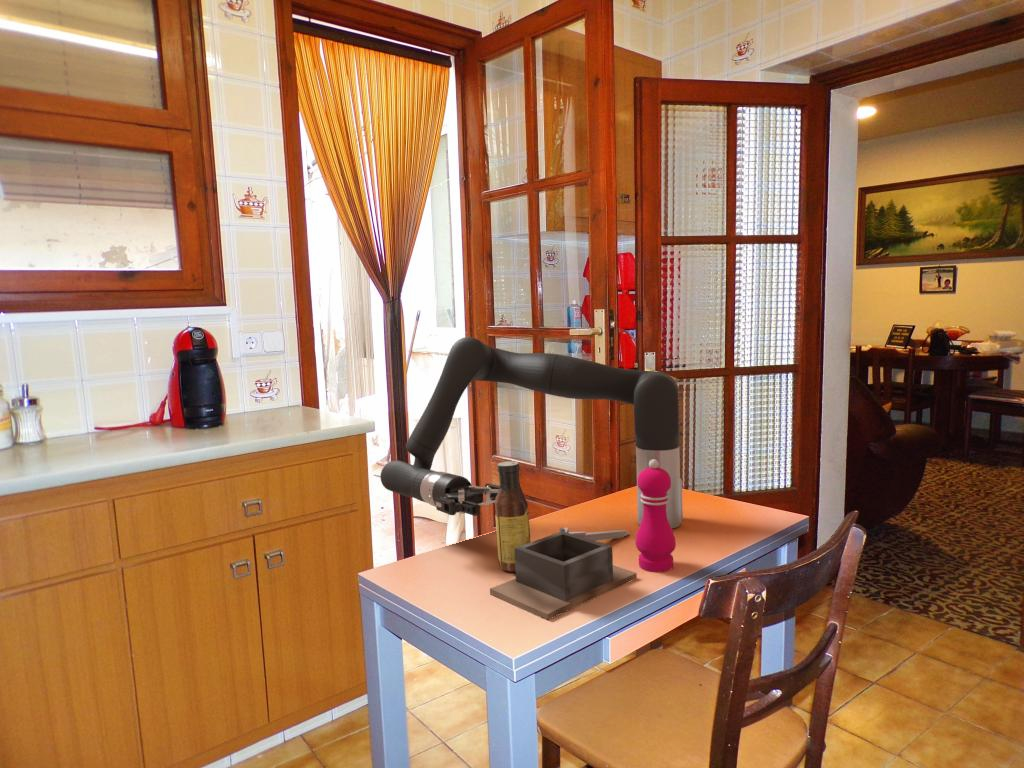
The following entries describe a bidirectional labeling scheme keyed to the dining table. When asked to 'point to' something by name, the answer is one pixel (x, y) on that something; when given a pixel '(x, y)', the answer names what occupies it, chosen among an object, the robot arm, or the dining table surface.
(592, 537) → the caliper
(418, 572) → the dining table surface
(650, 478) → the pepper mill
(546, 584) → the bottle caddy
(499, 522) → the sauce bottle
